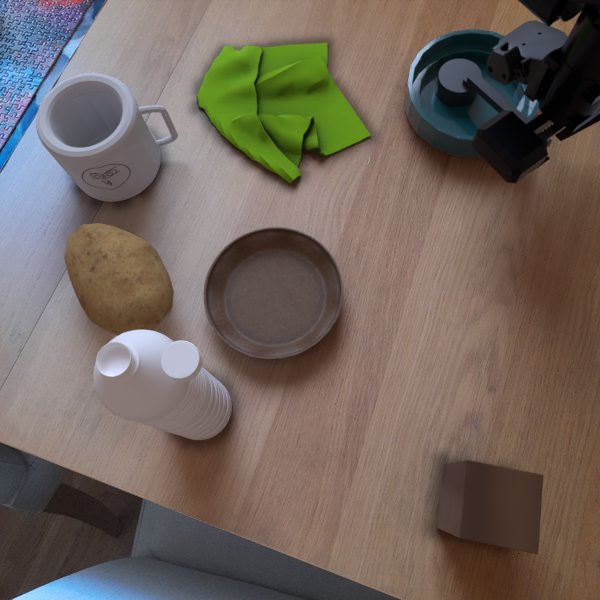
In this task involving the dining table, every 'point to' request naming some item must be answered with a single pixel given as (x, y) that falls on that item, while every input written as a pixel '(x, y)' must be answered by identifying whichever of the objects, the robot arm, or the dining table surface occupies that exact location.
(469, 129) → the bowl
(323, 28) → the dining table surface
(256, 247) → the saucer
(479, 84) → the ladle
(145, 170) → the mug
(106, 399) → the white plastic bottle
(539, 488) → the brown rectangular block
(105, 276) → the potato
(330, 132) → the cloth
